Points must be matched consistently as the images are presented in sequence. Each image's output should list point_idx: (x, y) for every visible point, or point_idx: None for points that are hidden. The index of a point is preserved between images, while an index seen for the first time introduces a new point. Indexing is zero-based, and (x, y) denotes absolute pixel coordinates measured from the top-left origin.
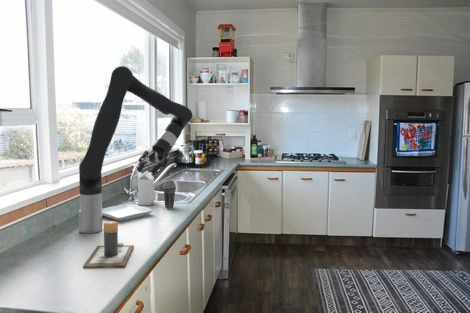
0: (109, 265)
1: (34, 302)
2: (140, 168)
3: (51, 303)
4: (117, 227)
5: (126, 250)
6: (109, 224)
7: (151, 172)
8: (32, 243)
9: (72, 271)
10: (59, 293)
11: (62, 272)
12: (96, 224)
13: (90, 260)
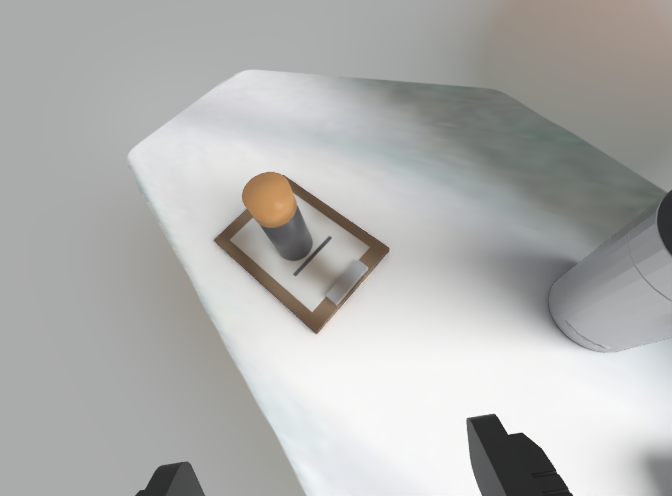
0: (241, 215)
1: (224, 94)
2: (488, 488)
3: (202, 109)
4: (252, 215)
5: (289, 289)
6: (256, 183)
7: (183, 468)
8: (536, 139)
9: (286, 159)
10: (221, 123)
11: (296, 145)
12: (565, 301)
13: (300, 196)
